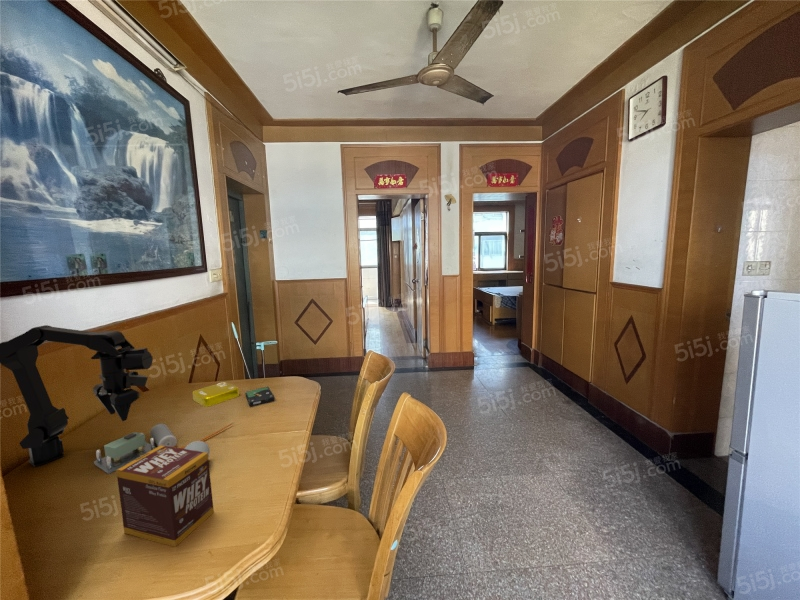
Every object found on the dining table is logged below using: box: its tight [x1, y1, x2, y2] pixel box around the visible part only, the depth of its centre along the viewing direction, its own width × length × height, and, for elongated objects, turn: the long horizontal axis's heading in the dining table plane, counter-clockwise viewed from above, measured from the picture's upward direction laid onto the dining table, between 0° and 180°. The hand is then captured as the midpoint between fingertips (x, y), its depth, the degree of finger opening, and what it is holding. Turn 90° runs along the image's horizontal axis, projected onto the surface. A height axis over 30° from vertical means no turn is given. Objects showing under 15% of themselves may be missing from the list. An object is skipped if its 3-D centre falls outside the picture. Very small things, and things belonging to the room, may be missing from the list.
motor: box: [149, 421, 235, 449], centre depth 119 cm, size 23×22×5 cm
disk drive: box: [244, 386, 276, 408], centre depth 147 cm, size 10×3×15 cm
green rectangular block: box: [103, 431, 147, 459], centre depth 103 cm, size 8×5×4 cm, turn 161°
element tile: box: [192, 381, 240, 408], centre depth 149 cm, size 15×15×5 cm
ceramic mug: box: [184, 440, 210, 458], centre depth 96 cm, size 11×8×8 cm
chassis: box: [93, 432, 158, 475], centre depth 103 cm, size 13×10×4 cm
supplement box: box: [115, 445, 215, 548], centre depth 76 cm, size 10×15×16 cm
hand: (118, 417), depth 106 cm, fingers open, 9 cm apart
